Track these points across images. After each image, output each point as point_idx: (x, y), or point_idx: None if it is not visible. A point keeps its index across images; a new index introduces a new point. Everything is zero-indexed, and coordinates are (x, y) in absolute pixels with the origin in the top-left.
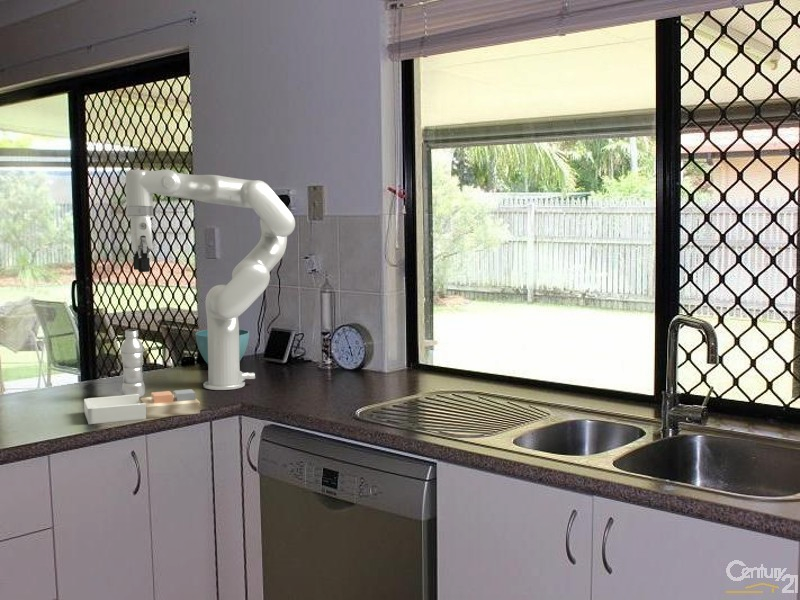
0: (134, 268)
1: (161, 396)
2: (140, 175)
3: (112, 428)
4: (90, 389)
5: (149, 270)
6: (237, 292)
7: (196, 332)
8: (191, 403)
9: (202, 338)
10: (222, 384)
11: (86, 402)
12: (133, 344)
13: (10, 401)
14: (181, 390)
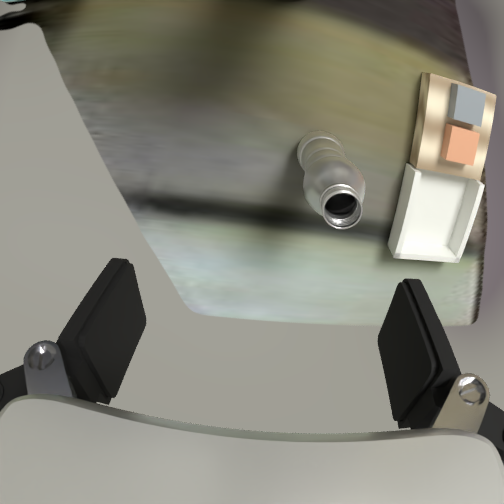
0: (144, 326)
1: (475, 153)
2: None
3: (485, 228)
4: (198, 207)
5: (420, 284)
6: None
7: (5, 1)
8: (493, 109)
9: None
10: None
11: (421, 258)
12: (362, 195)
13: (246, 315)
14: (459, 105)
